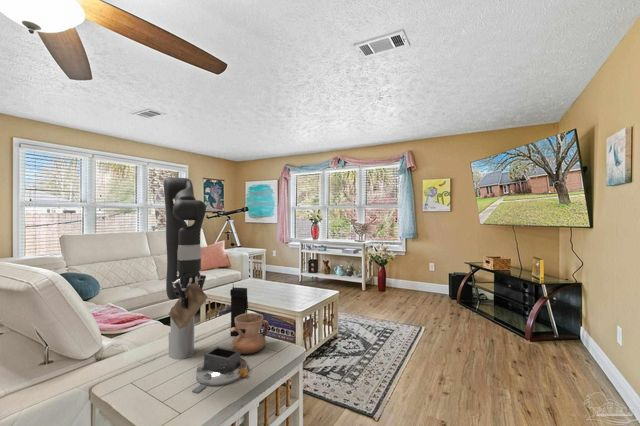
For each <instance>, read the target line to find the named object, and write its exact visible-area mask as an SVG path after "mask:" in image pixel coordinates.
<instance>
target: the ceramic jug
mask: <svg viewBox="0 0 640 426" xmlns="http://www.w3.org/2000/svg"><path fill="white" fill-rule="evenodd" d="M262 325H264V329H263V333H262V334H261V333H260V331H261V328H262ZM235 326H236V327H232V328H231V327H230V329H229V332H230V331H231V332H233V331H237V332H238V333H239V335H238V336H237V337H234V338H233V340H232V342H231V348H232V349H231V350H236V351H241V355H243V354H244V355H249V354H250V355H252V354H254V353H257V352H260V351H261V350H262V349H264V348H265V346H266V343H267V340H266V336H267V333H268V330H269V322H268V320H265V319H264V316H263V314H261V313H257V312H249V313H248V312H247V313H246V314H241V315H239V316H237V317H235Z"/></svg>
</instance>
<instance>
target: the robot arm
mask: <svg viewBox="0 0 640 426" xmlns="http://www.w3.org/2000/svg"><path fill="white" fill-rule="evenodd" d="M193 186H194V185H193V182H192V181H191V179H189V178H187V177H171V176H170V177H166V178H165V179H164V181H163V195H164V206H165V243H166V245H165V246H166V261H167V262H166V281H165V283H166V284H165V285H166V286H165V288H166V289H165V290H166V295H167V298H168V299H169V300H170V301H172V300H179V298H180V297H181V307H182V308H183V309H188V292H189V290H190V285H191V284H193V283H197V284H198V286H199V287H200V288H201V289H202V290H203V288H204V284H205V282H206V278H207V276H206V275H203V274H201V272H200V271H201V270H202V249H201V246H202V245H201V232H202V226H203V222H204V219H205V217H206V212H207V207H206V204H205V203H204V201H203V200H200V199H199V200H198V199H196V198H195V196H194V195H195V194H194V187H193ZM186 221H194V222H193V224H191V225H190V226H189V225H188V224H187V223H186ZM184 291H185V294H184ZM173 307H174V305H173V306H172V307H171V309H172V308H173ZM171 309H170V310H171ZM194 354H195V315H194V316H193V318H192V319H191V320H190V322H189V323H188V324H187V326H185V327H183V328H181V329H179V328H178V327H177V325H176V324H175V322H174V321H173V320H172V318H171V317H170V332H168V356H169V357H170V358H171V359H173V360H183V359H187V358H190V357H191V356H193V355H194Z"/></svg>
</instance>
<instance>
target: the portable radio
mask: <svg viewBox="0 0 640 426" xmlns="http://www.w3.org/2000/svg"><path fill="white" fill-rule="evenodd" d="M234 285H235V284H234V283H232V288H231V289H230V329H231V328H232V327H236V326H235V317H237V316H239V315H241V314H246V313H248V309H249V301H248V288H246V287H236V286H235V287H234ZM229 333H230V334H229V335H230V337H234V338H236V337H237V336H238V335H239V333H238V332H237V331H233V332H231V331H230V330H229Z"/></svg>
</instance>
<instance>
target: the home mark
mask: <svg viewBox="0 0 640 426" xmlns="http://www.w3.org/2000/svg"><path fill="white" fill-rule="evenodd" d="M206 388H207V385H203V384H201V383H200V384H199V385H198V386H196V387H195V388H193V389H192V391H191V392H192V393H193V394H199V393H201V392H202V391H203V390H205V389H206Z"/></svg>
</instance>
